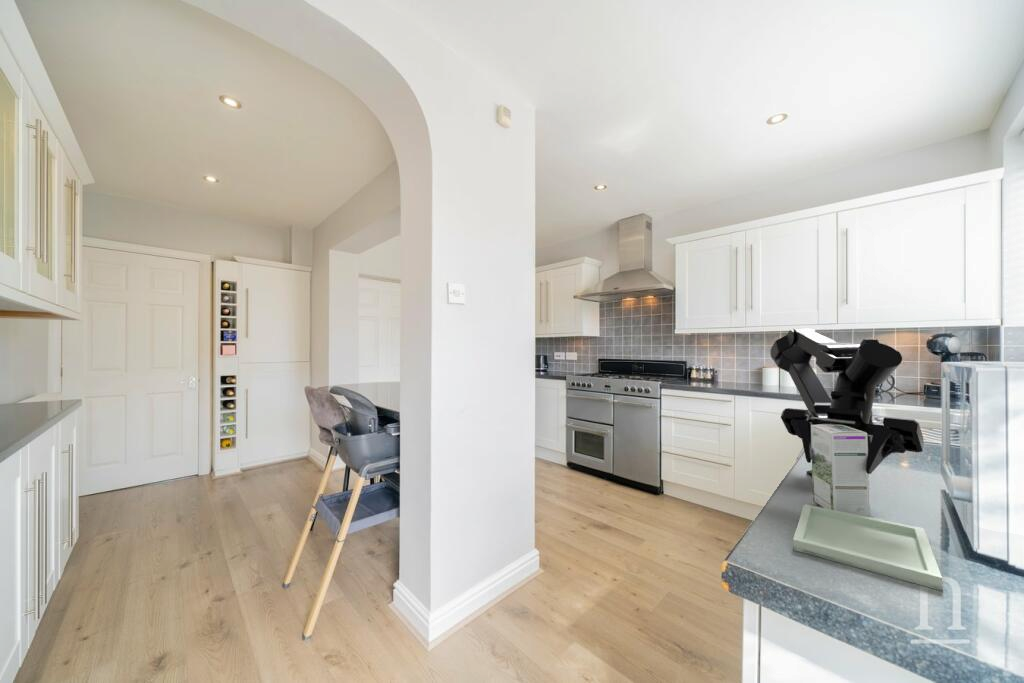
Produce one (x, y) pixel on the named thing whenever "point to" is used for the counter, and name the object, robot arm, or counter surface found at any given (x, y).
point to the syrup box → (840, 468)
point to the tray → (868, 544)
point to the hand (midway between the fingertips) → (836, 466)
